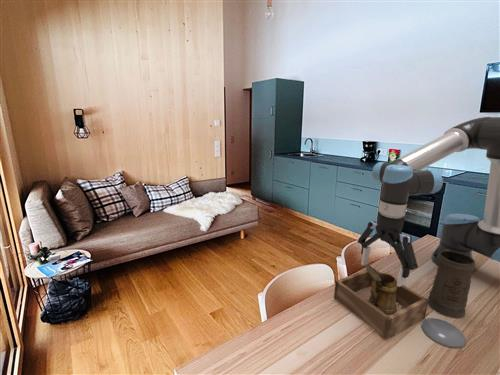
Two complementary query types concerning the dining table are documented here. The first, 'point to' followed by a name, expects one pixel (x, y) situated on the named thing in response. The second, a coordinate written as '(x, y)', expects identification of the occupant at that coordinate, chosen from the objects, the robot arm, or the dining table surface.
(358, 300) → the wooden frame
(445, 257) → the beer stein
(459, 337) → the coaster
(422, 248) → the dining table surface
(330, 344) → the dining table surface
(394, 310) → the wooden mug
